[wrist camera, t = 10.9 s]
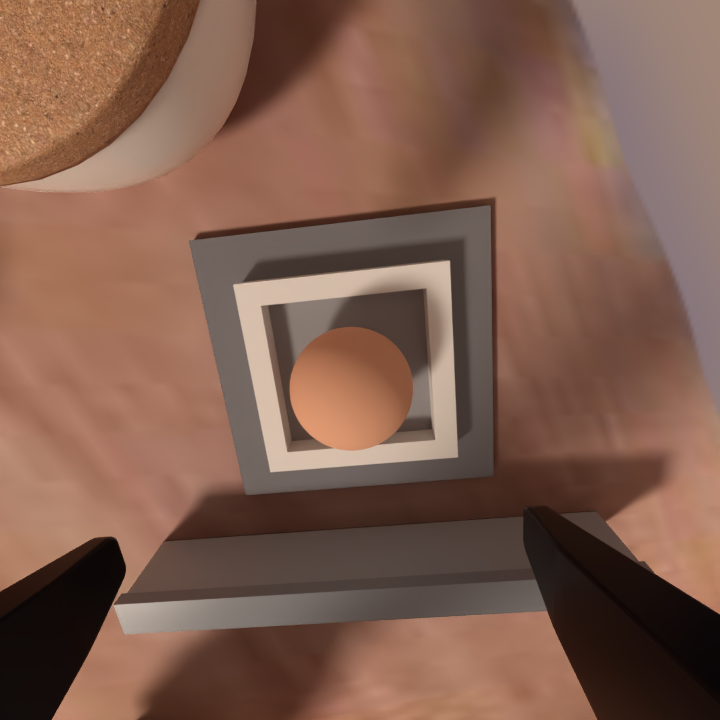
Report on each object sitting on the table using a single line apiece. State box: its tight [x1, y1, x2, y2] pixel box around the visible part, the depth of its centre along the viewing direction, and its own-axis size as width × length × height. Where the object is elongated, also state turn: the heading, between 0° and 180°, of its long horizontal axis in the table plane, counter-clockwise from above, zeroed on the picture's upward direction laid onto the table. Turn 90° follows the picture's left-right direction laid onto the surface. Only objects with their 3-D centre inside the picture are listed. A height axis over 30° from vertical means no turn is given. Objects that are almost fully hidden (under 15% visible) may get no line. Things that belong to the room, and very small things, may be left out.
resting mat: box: [189, 205, 494, 495], centre depth 18 cm, size 13×13×2 cm
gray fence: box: [114, 511, 654, 634], centre depth 19 cm, size 2×24×4 cm, turn 96°
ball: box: [290, 327, 413, 451], centre depth 16 cm, size 5×5×5 cm
